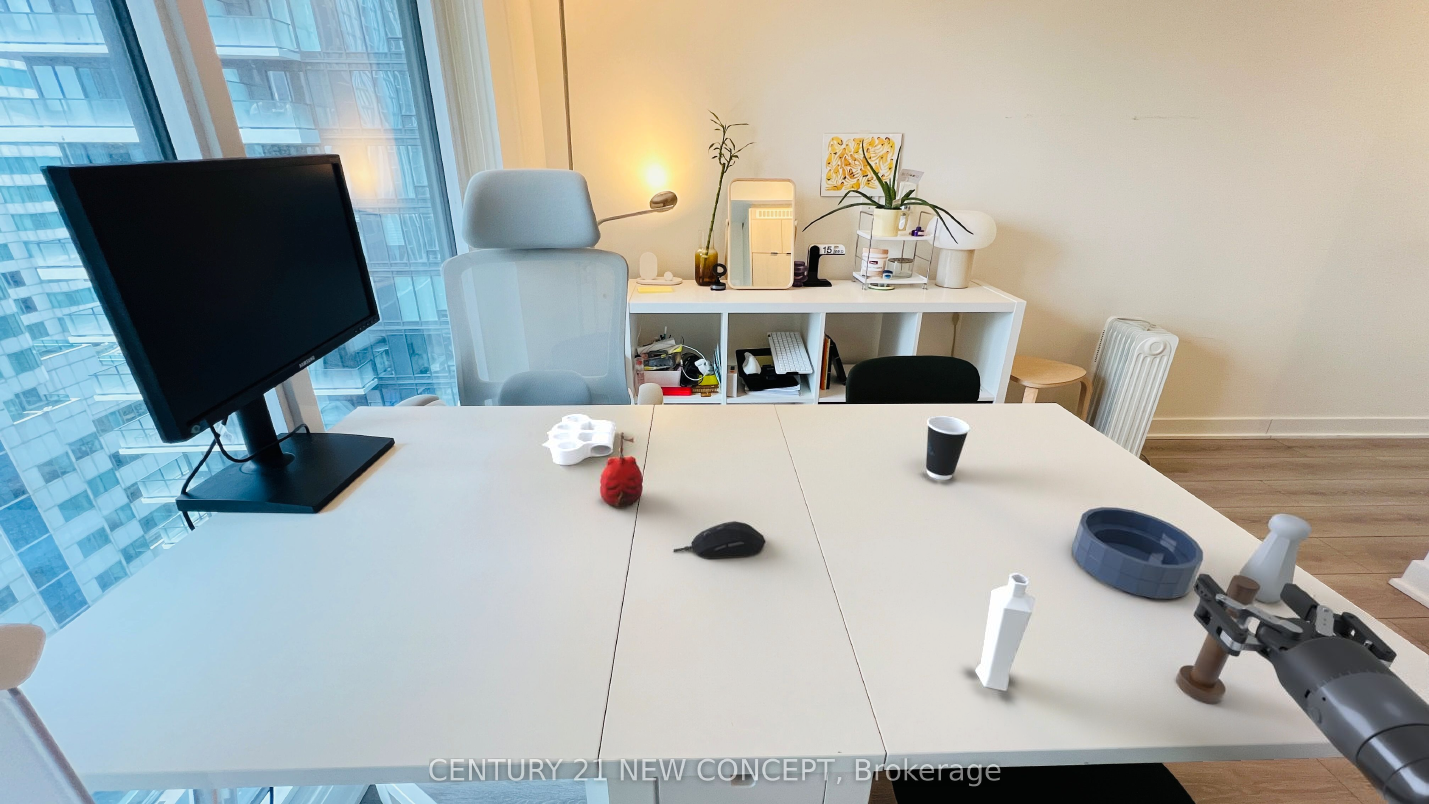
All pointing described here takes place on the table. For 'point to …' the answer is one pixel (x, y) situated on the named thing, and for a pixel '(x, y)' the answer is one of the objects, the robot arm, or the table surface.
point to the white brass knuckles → (580, 439)
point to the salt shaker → (1276, 556)
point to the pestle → (1215, 651)
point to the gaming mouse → (727, 541)
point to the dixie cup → (944, 445)
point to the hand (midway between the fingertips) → (1242, 584)
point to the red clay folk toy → (621, 480)
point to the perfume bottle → (1004, 631)
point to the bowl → (1137, 552)
